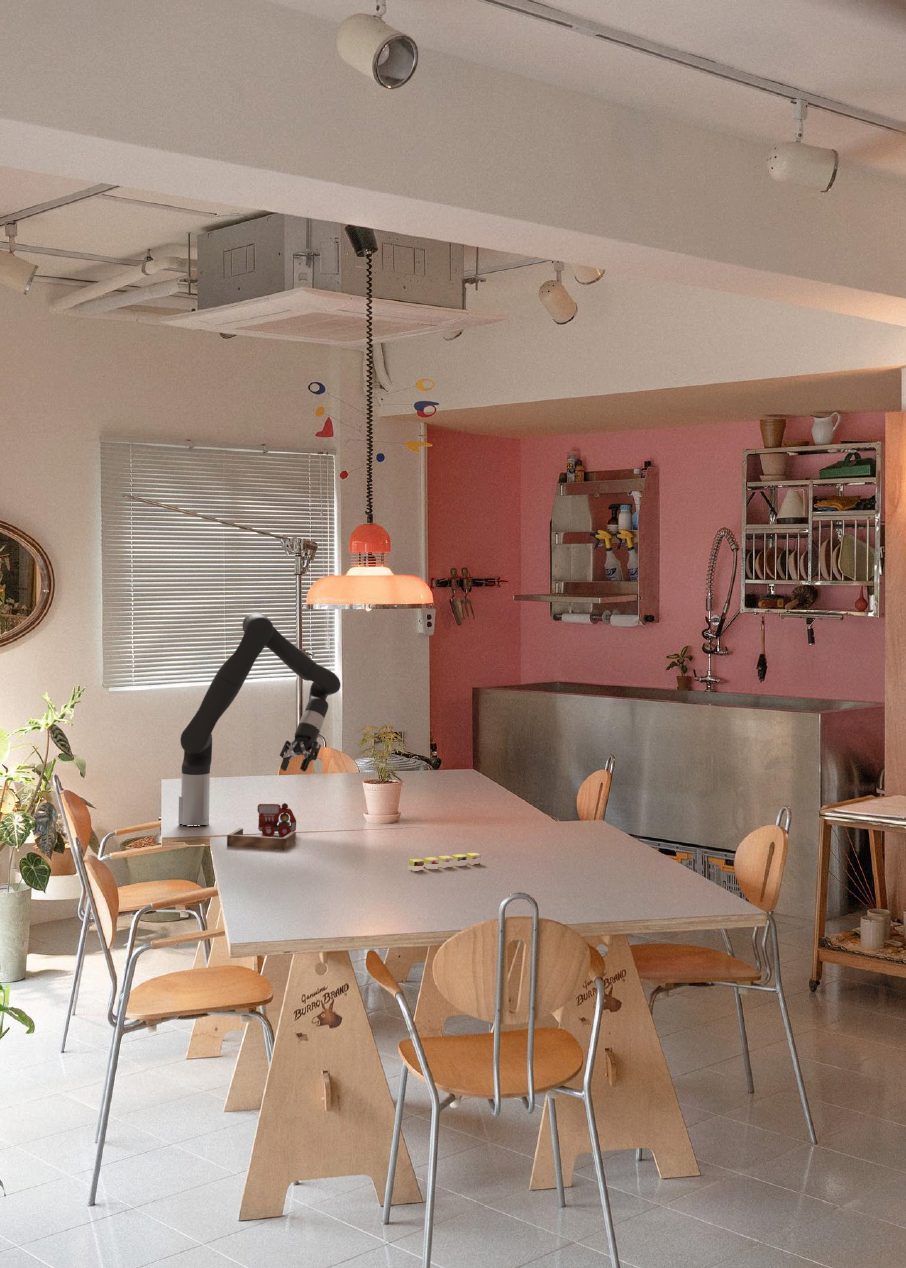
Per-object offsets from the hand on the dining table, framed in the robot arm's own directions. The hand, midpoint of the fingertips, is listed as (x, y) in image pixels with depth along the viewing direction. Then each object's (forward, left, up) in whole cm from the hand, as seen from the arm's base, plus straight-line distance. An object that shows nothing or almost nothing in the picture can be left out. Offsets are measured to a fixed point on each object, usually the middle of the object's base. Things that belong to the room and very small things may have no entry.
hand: (292, 770), depth 420 cm
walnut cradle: (-2, -24, -20) cm, 31 cm away
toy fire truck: (-2, -9, -20) cm, 22 cm away
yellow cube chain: (+60, -39, -21) cm, 75 cm away
